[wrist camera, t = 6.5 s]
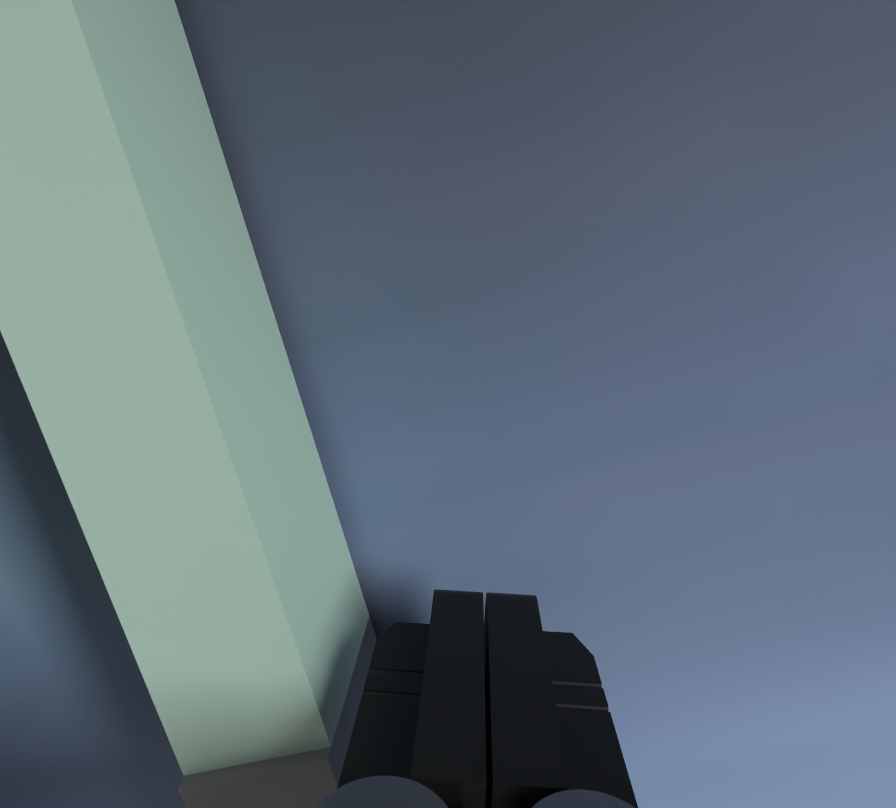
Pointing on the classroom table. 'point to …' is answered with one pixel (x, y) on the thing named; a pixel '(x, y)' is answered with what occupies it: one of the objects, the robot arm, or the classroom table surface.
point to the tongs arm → (173, 401)
